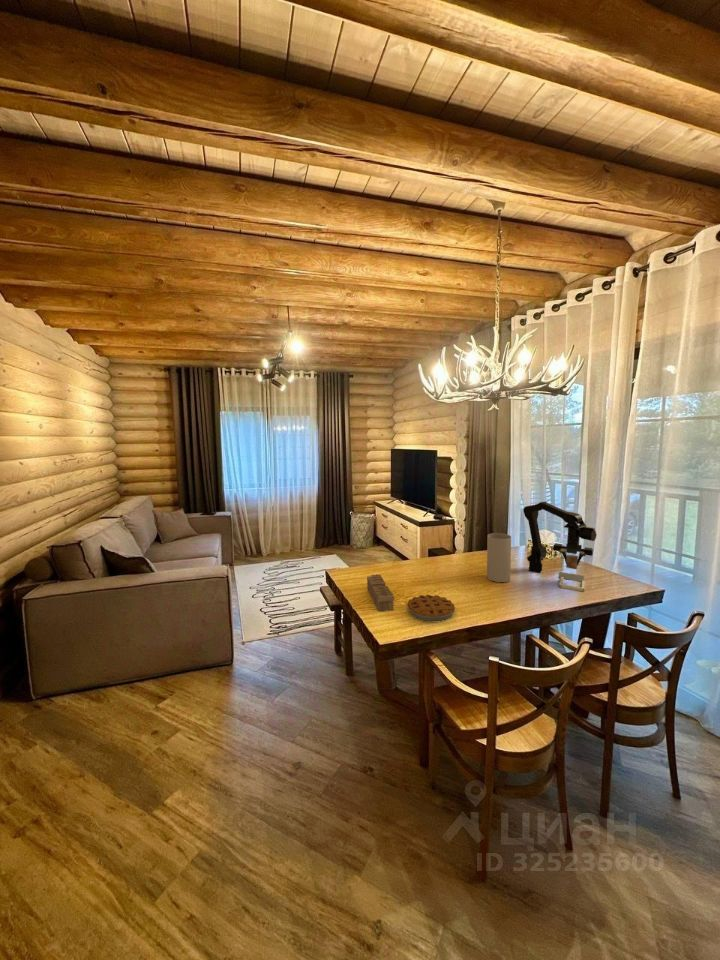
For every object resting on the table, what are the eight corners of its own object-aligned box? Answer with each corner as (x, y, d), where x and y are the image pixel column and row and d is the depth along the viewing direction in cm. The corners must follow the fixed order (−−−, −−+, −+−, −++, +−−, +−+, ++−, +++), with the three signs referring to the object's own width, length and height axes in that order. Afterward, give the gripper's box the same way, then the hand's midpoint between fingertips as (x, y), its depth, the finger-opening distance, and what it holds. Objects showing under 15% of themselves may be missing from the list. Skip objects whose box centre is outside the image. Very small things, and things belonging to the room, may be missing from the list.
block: (566, 567, 202) (566, 557, 202) (567, 564, 207) (567, 554, 206) (576, 569, 200) (577, 558, 199) (577, 566, 204) (577, 556, 203)
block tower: (366, 590, 201) (378, 613, 172) (366, 575, 200) (377, 596, 171) (380, 589, 202) (394, 611, 173) (380, 574, 201) (394, 594, 173)
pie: (463, 620, 163) (463, 610, 163) (417, 627, 159) (417, 616, 158) (442, 600, 185) (442, 590, 184) (401, 605, 180) (400, 595, 180)
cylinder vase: (504, 574, 216) (505, 532, 213) (514, 582, 204) (515, 538, 201) (483, 575, 216) (484, 533, 213) (491, 583, 203) (492, 539, 201)
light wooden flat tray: (559, 587, 197) (559, 584, 196) (561, 579, 207) (561, 576, 207) (584, 591, 190) (584, 588, 190) (584, 583, 201) (584, 580, 201)
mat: (558, 578, 209) (558, 577, 209) (560, 572, 217) (560, 572, 217) (583, 582, 202) (583, 581, 202) (583, 576, 211) (583, 575, 211)
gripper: (552, 537, 200) (550, 565, 202) (593, 543, 189) (591, 572, 191) (555, 533, 209) (553, 559, 211) (593, 537, 198) (592, 565, 200)
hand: (571, 564), depth 203 cm, fingers closed on block, 5 cm apart
